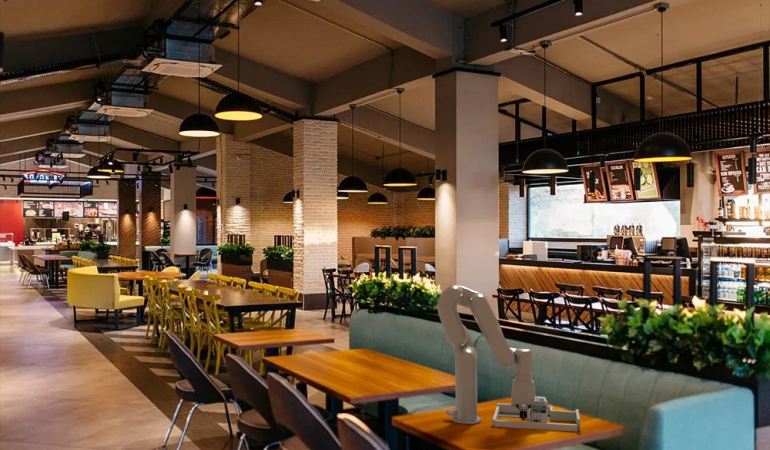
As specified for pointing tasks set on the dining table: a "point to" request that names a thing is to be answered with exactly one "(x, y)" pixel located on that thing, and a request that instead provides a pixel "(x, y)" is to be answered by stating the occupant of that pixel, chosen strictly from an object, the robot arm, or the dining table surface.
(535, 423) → the frame
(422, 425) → the dining table surface
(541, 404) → the light bulb box
